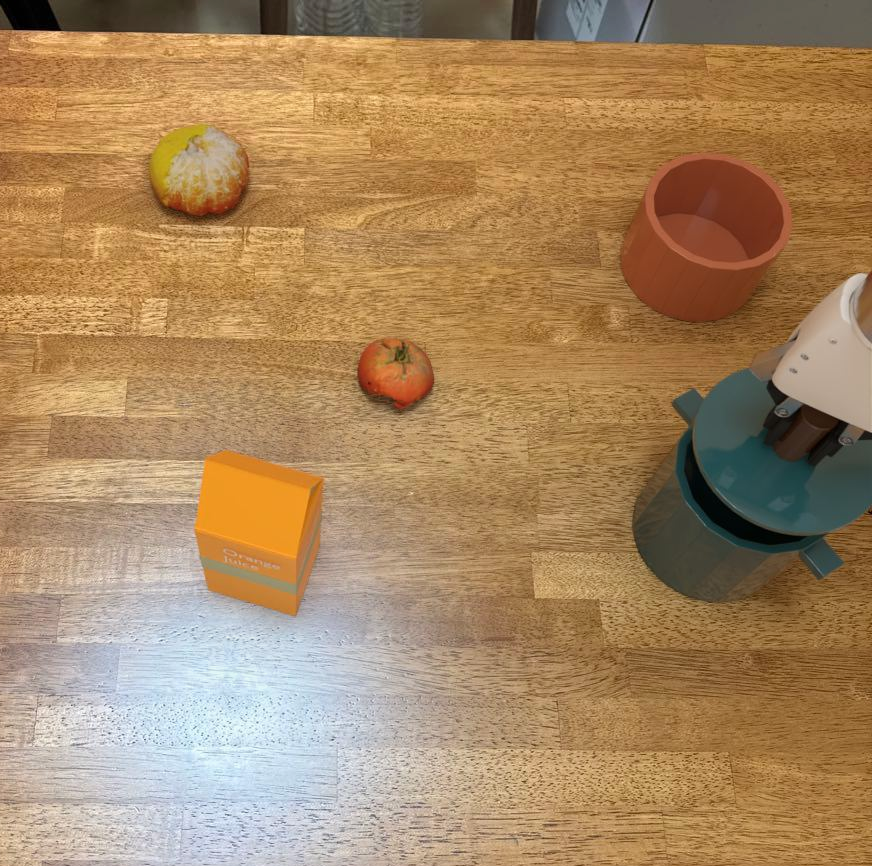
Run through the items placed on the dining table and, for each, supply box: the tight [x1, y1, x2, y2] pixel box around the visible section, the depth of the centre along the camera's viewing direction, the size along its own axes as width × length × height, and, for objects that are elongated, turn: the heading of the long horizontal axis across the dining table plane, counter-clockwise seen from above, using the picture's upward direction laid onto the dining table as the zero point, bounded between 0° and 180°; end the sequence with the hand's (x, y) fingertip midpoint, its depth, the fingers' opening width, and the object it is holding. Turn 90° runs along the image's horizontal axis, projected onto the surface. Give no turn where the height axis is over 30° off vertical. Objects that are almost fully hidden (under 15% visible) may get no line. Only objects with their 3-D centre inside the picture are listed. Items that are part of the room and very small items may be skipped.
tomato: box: [357, 337, 435, 410], centre depth 104 cm, size 8×7×7 cm
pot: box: [632, 387, 845, 603], centre depth 94 cm, size 15×20×12 cm
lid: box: [692, 367, 872, 536], centre depth 82 cm, size 16×16×7 cm
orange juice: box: [193, 449, 324, 617], centre depth 88 cm, size 8×9×20 cm
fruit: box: [147, 123, 250, 217], centre depth 112 cm, size 11×10×8 cm
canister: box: [619, 151, 794, 323], centre depth 108 cm, size 15×15×9 cm
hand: (794, 440), depth 83 cm, fingers closed on lid, 3 cm apart
